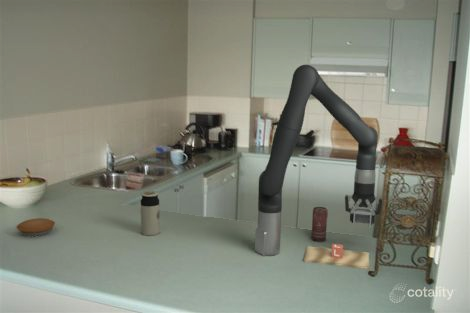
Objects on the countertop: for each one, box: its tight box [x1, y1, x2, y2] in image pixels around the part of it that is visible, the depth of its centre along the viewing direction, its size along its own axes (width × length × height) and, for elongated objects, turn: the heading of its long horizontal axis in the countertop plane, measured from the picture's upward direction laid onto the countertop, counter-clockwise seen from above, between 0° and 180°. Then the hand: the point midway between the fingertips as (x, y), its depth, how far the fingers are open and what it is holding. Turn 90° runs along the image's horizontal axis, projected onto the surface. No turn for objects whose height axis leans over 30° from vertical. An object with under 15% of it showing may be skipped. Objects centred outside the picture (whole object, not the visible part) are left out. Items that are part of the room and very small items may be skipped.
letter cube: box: [331, 243, 344, 259], centre depth 187 cm, size 4×4×4 cm
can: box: [311, 206, 329, 243], centre depth 206 cm, size 6×6×14 cm
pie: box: [16, 217, 56, 238], centre depth 210 cm, size 15×16×5 cm
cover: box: [352, 207, 372, 229], centre depth 182 cm, size 6×6×6 cm
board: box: [303, 245, 370, 270], centre depth 187 cm, size 24×14×1 cm, turn 76°
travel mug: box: [140, 190, 161, 236], centre depth 211 cm, size 8×8×18 cm
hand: (361, 223), depth 183 cm, fingers closed on cover, 6 cm apart
